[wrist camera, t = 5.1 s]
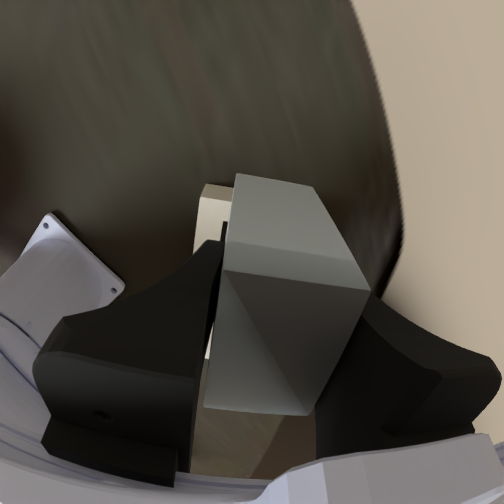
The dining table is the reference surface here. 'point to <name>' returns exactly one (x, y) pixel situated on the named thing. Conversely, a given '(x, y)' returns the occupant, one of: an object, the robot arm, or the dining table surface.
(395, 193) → the dining table surface
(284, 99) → the dining table surface
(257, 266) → the plug
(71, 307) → the robot arm
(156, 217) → the dining table surface
